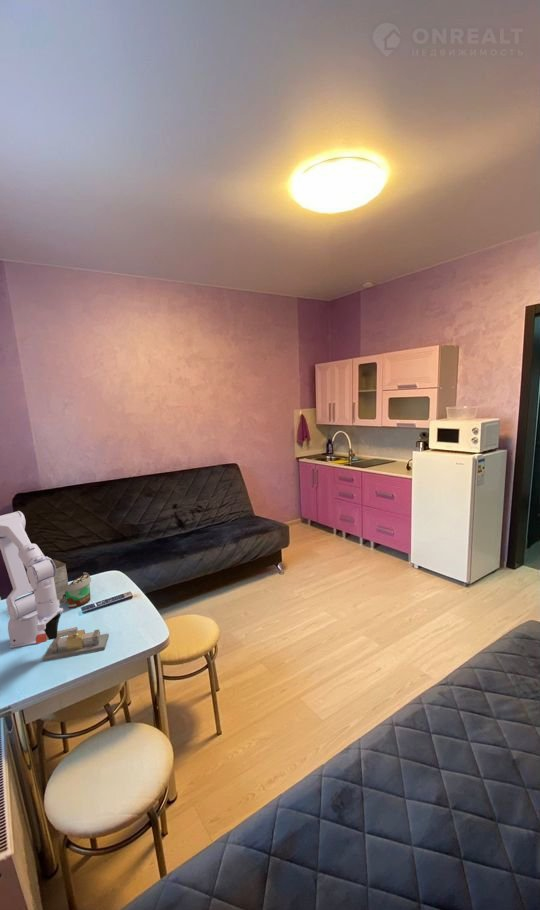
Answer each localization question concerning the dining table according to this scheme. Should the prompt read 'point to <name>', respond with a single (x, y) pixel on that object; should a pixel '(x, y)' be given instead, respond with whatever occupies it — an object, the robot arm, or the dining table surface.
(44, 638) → the valve lever
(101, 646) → the board
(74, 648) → the pipe and valve
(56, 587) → the coffee box
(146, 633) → the dining table surface
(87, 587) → the food container
